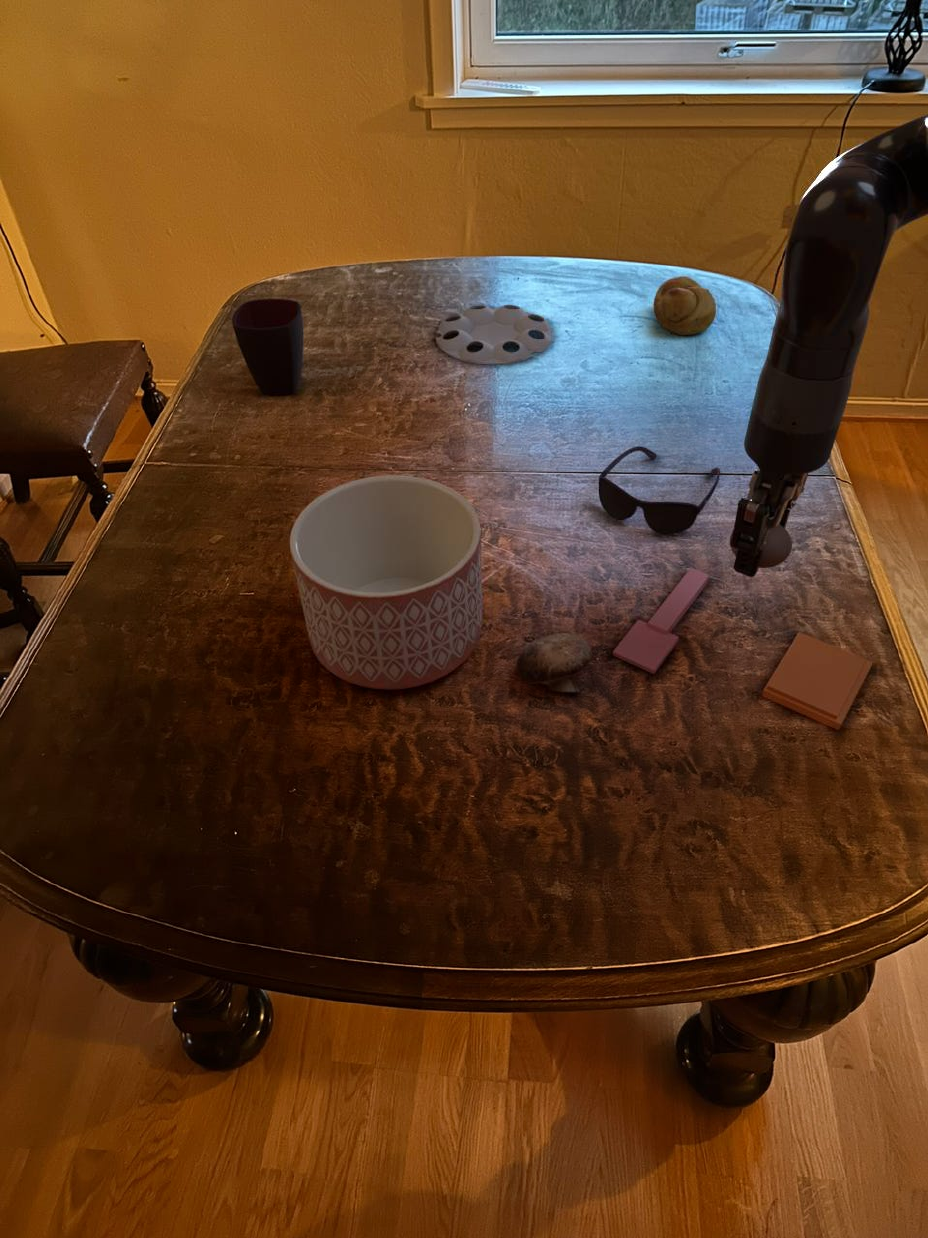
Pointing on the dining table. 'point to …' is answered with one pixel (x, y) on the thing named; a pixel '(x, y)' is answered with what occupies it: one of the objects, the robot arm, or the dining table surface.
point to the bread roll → (684, 306)
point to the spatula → (660, 626)
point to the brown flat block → (817, 680)
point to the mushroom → (554, 661)
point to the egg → (773, 547)
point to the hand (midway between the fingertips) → (758, 553)
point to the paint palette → (493, 334)
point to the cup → (271, 343)
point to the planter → (390, 580)
